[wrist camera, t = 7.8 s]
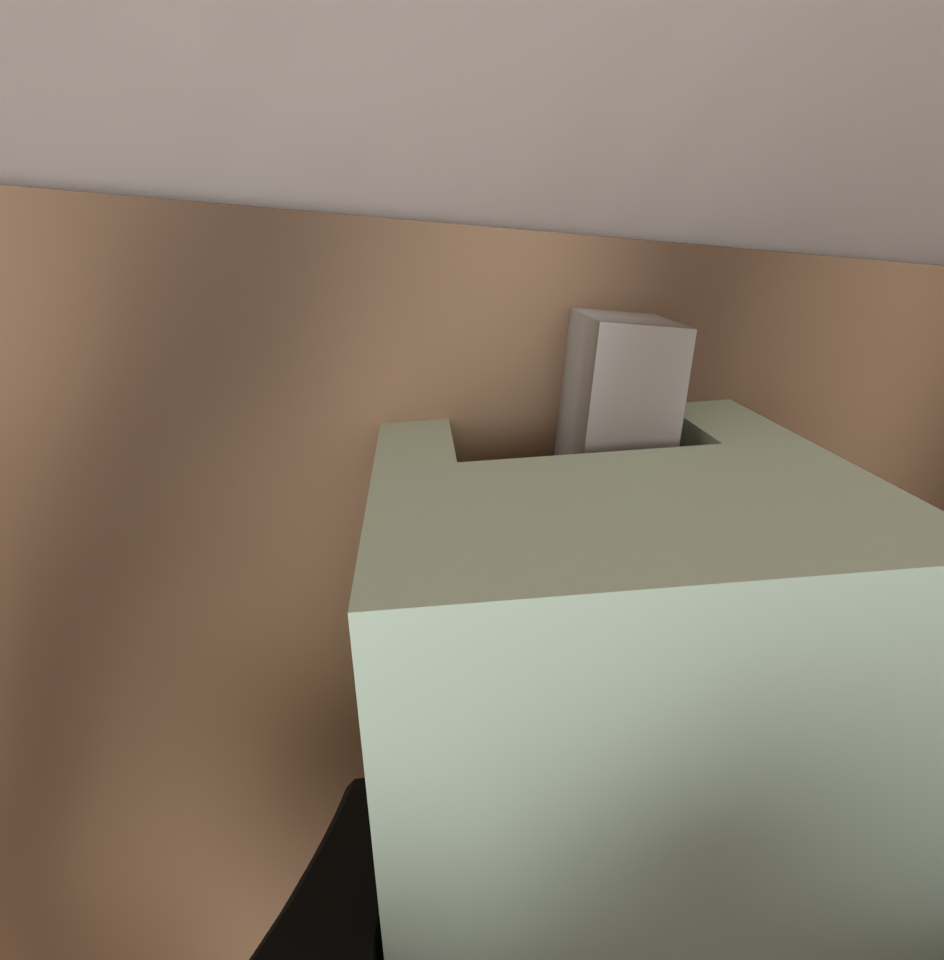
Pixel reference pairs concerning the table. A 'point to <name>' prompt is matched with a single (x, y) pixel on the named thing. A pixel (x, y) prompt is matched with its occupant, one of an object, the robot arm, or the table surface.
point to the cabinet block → (651, 700)
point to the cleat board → (321, 497)
